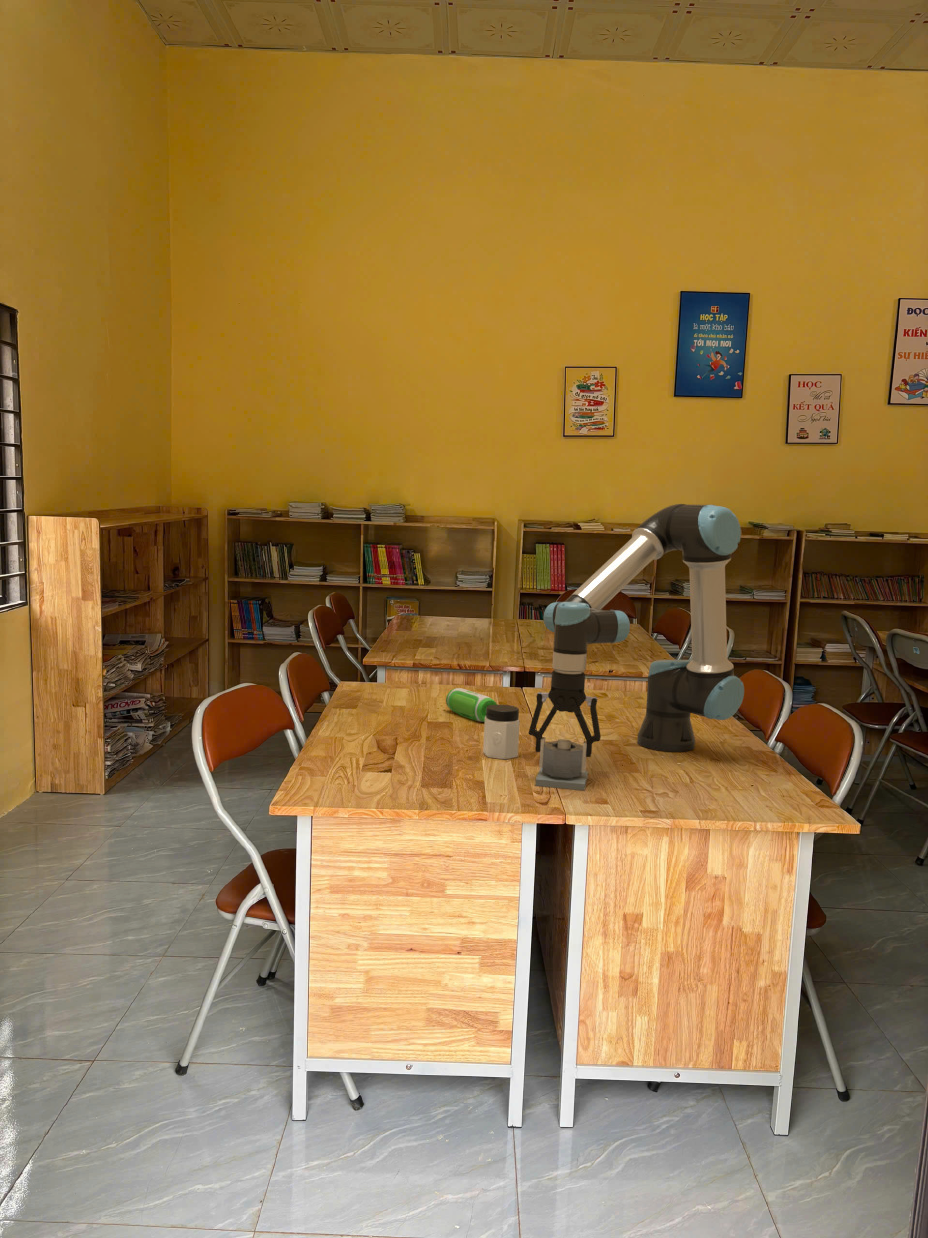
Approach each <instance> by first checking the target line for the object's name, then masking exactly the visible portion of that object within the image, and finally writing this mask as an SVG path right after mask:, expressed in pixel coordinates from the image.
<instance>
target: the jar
mask: <svg viewBox="0 0 928 1238" xmlns="http://www.w3.org/2000/svg"><path fill="white" fill-rule="evenodd" d="M519 710H520V709H519V707H517V706H514V705H509V704H497V705H490V706H487V708H486V716H485V722H484V728H483V731H484V732H483V745H482V746H483V750H482V753H483V754H484V755H485V757H487V758H489V759H499V760H508V759H514V758H517V757H518V756H519V744H520V743H519V742H520V739H519V738H520V724H521V723H520V722H521V721H520V719H519V718H520V717H519V715H520V714H519V713H520V711H519Z"/></svg>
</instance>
